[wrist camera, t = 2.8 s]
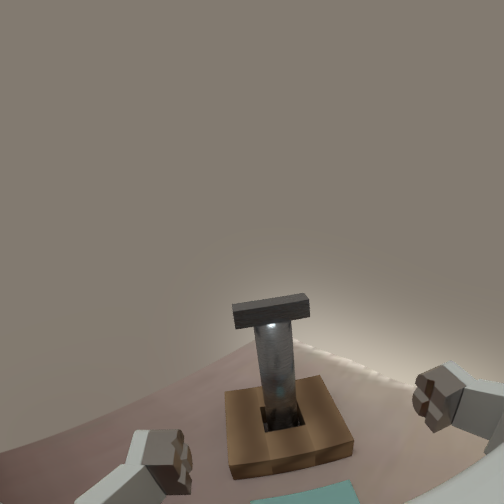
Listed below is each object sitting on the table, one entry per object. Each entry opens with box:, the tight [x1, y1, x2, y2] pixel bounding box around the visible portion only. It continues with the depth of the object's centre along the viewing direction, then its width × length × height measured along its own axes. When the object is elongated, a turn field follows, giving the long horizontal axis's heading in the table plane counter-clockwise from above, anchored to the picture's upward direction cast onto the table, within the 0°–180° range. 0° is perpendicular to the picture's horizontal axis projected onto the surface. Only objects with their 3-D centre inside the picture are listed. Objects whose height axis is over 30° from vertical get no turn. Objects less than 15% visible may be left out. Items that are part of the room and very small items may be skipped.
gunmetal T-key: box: [232, 293, 310, 432], centre depth 29 cm, size 7×4×18 cm, turn 96°
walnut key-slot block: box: [225, 375, 354, 480], centre depth 31 cm, size 13×13×3 cm
